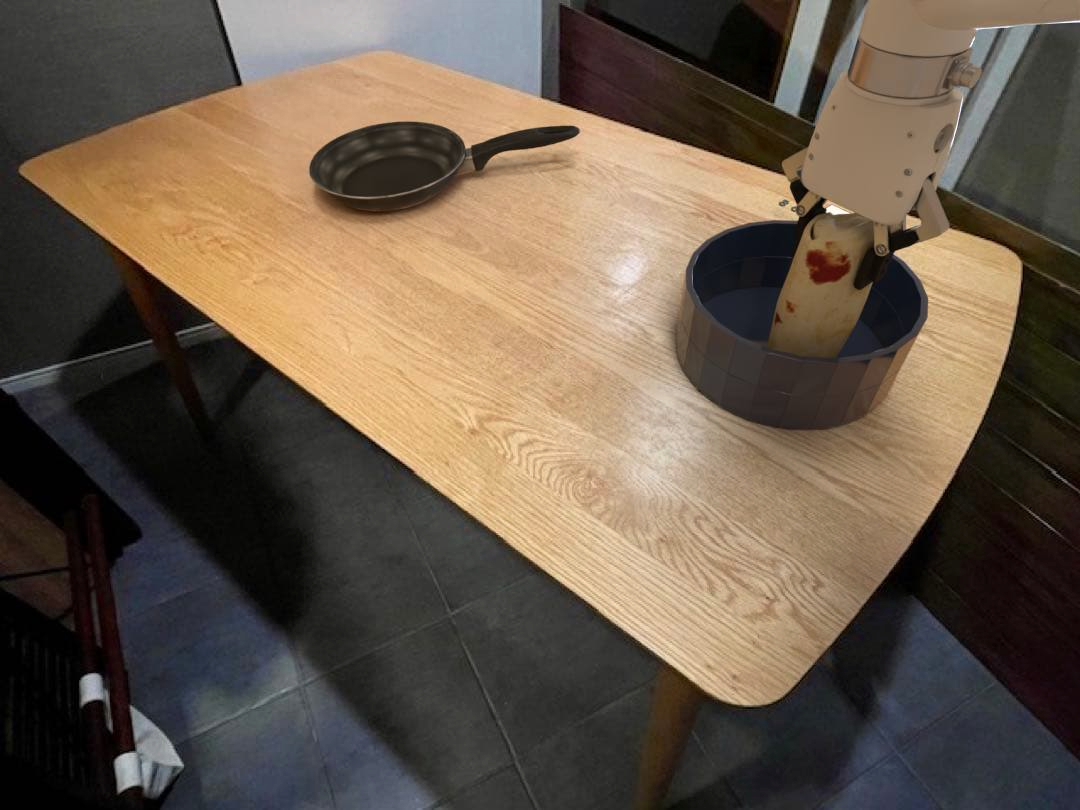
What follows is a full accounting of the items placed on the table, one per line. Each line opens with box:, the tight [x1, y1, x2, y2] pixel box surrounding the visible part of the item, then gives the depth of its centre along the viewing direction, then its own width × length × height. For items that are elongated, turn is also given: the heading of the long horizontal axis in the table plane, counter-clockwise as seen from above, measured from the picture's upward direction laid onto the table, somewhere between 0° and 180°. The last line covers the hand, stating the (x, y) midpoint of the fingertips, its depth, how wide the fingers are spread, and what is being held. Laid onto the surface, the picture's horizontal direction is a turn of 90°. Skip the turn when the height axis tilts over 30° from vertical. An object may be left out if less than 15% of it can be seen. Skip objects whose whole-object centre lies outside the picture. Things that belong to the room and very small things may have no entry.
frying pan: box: [308, 120, 581, 212], centre depth 104 cm, size 44×25×7 cm, turn 94°
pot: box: [675, 219, 929, 431], centre depth 72 cm, size 24×24×10 cm
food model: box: [767, 212, 874, 358], centre depth 64 cm, size 10×7×20 cm
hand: (834, 264), depth 61 cm, fingers closed on food model, 6 cm apart
